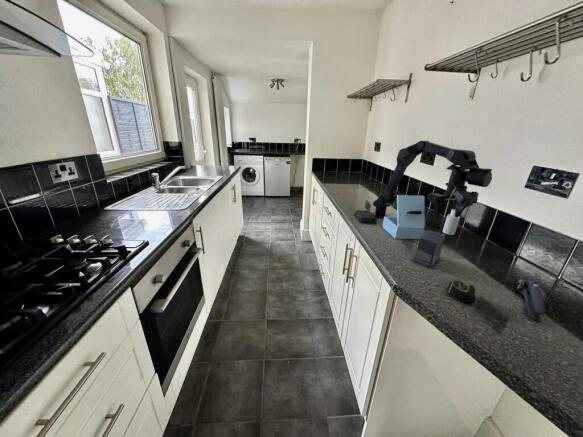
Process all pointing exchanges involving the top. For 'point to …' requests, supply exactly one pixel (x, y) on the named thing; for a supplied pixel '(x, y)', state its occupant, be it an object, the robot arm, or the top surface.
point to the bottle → (451, 223)
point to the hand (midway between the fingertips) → (446, 217)
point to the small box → (429, 248)
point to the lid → (410, 211)
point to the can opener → (532, 297)
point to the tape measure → (462, 291)
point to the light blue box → (401, 229)
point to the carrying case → (365, 216)
